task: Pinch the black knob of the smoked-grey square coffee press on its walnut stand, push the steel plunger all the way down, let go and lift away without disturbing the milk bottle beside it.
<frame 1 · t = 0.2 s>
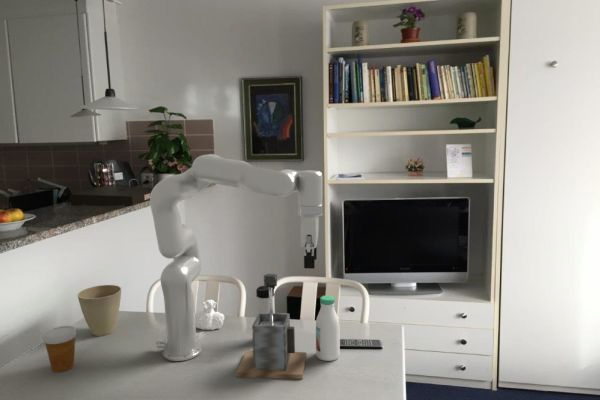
hand: (310, 263, 144), 32 cm above the table, tool pointing down, fingers open, 9 cm apart
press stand: (272, 366, 143), on the table
travel mug: (267, 340, 161), on the table
disposable coffee cup: (63, 367, 145), on the table
plant pot: (103, 332, 171), on the table
plunger: (270, 302, 140), point 21 cm above the table, slide at 0.0 cm
bust: (209, 327, 174), on the table
milk bottle: (328, 356, 149), on the table
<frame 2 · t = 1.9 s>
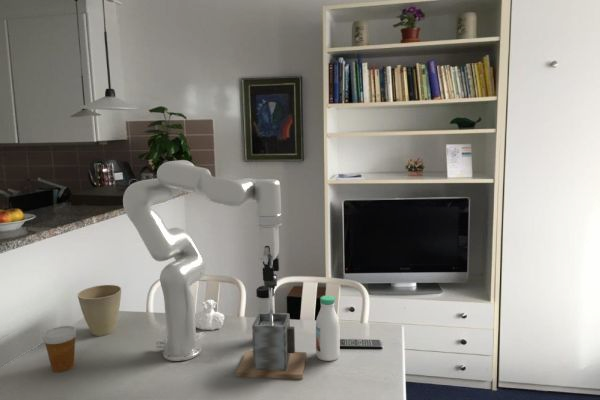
hand: (271, 275, 139), 30 cm above the table, tool pointing down, fingers open, 9 cm apart
nothing on the table moved.
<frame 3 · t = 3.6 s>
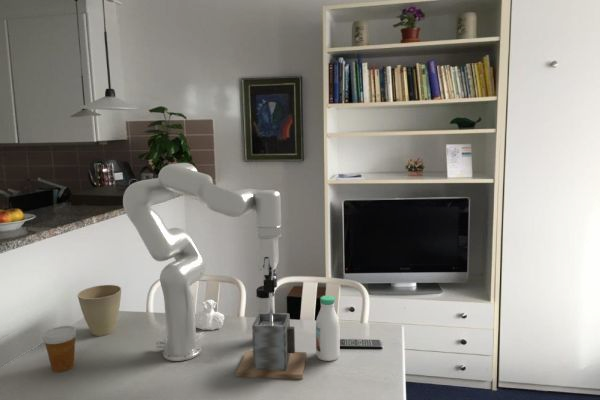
hand: (270, 289, 140), 25 cm above the table, tool pointing down, fingers closed on plunger, 4 cm apart
plunger: (270, 302, 140), point 21 cm above the table, slide at 0.0 cm, touching gripper
everything else where it was.
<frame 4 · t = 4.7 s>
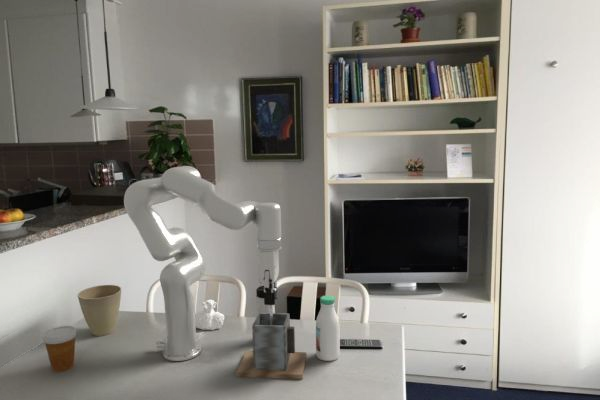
hand: (270, 301, 140), 21 cm above the table, tool pointing down, fingers closed on plunger, 4 cm apart
plunger: (271, 314, 141), point 17 cm above the table, slide at 3.9 cm, touching gripper
everything else where it was.
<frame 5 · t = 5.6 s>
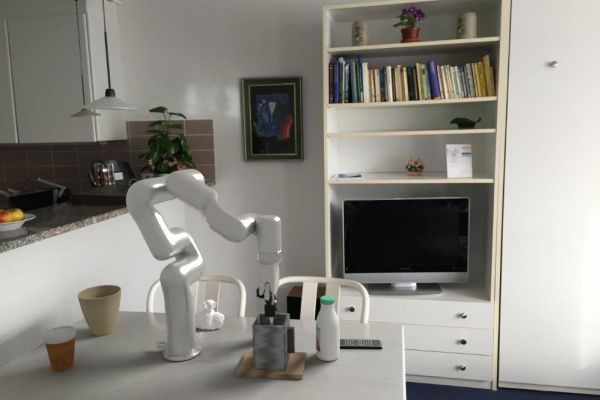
hand: (271, 313, 141), 18 cm above the table, tool pointing down, fingers closed on plunger, 4 cm apart
plunger: (271, 326, 141), point 13 cm above the table, slide at 7.7 cm, touching gripper
everything else where it was.
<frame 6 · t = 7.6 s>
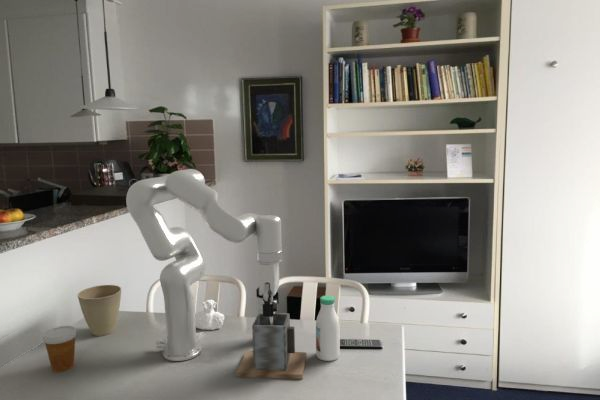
hand: (271, 310, 141), 19 cm above the table, tool pointing down, fingers open, 9 cm apart
plunger: (271, 326, 141), point 13 cm above the table, slide at 7.8 cm
everything else where it was.
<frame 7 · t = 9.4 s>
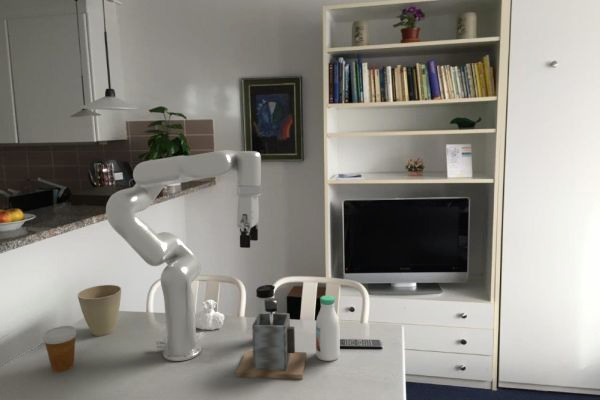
hand: (249, 243, 145), 38 cm above the table, tool pointing down, fingers open, 9 cm apart
nothing on the table moved.
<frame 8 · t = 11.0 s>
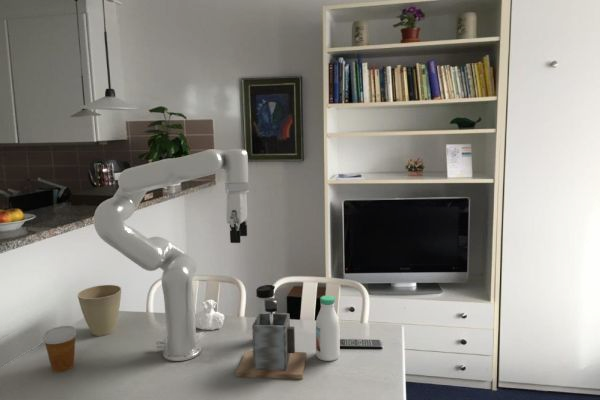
hand: (239, 239, 150), 38 cm above the table, tool pointing down, fingers open, 9 cm apart
nothing on the table moved.
at the end: plunger slide at 7.8 cm; the gripper is holding nothing; milk bottle moved 0.2 cm from its start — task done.
